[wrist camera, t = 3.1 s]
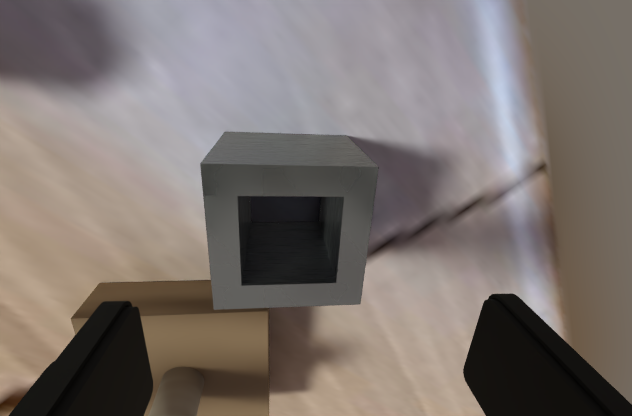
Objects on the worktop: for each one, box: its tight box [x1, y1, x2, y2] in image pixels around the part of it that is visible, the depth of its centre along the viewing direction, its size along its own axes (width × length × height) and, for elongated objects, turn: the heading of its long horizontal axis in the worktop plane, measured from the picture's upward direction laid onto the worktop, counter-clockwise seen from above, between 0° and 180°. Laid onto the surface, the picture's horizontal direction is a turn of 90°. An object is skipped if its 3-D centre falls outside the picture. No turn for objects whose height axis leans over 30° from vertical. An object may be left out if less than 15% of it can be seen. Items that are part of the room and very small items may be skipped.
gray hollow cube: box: [200, 132, 379, 310], centre depth 16 cm, size 6×6×6 cm
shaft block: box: [71, 280, 269, 416], centre depth 18 cm, size 10×10×9 cm
